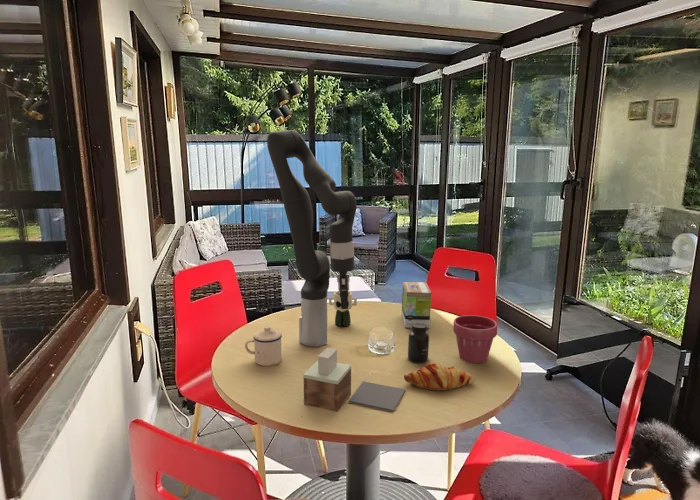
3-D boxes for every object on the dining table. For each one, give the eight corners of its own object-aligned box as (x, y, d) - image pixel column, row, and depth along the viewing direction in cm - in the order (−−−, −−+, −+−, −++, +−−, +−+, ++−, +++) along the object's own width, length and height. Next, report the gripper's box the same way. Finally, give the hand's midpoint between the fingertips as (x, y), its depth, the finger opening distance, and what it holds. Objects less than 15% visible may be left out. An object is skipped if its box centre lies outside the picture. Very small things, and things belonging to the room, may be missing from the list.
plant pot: (451, 347, 170) (453, 312, 167) (492, 350, 168) (495, 315, 165) (452, 365, 156) (454, 327, 154) (496, 369, 154) (499, 331, 151)
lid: (303, 381, 130) (303, 357, 129) (318, 365, 140) (318, 343, 138) (337, 387, 127) (337, 363, 125) (351, 371, 136) (351, 348, 135)
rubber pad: (348, 402, 133) (348, 400, 133) (362, 383, 144) (363, 381, 144) (393, 412, 129) (394, 409, 128) (405, 391, 140) (405, 389, 139)
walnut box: (303, 404, 132) (303, 377, 130) (319, 387, 141) (318, 362, 139) (337, 411, 128) (337, 384, 127) (350, 394, 138) (351, 368, 136)
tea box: (430, 328, 187) (432, 292, 184) (404, 328, 188) (405, 292, 184) (425, 315, 202) (426, 281, 199) (401, 315, 202) (402, 281, 199)
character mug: (328, 327, 188) (328, 295, 185) (329, 320, 195) (329, 290, 192) (356, 328, 187) (356, 296, 185) (356, 321, 194) (357, 290, 192)
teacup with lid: (283, 354, 163) (282, 321, 161) (280, 366, 155) (280, 332, 152) (247, 354, 163) (246, 322, 160) (243, 366, 154) (241, 332, 152)
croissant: (470, 389, 148) (468, 363, 150) (480, 390, 138) (478, 361, 140) (401, 390, 146) (401, 363, 149) (407, 390, 137) (406, 361, 139)
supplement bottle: (427, 364, 157) (429, 329, 154) (406, 362, 158) (407, 328, 155) (428, 355, 163) (430, 322, 161) (408, 353, 165) (409, 320, 162)
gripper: (330, 251, 158) (333, 298, 162) (330, 261, 145) (332, 312, 148) (353, 249, 159) (355, 297, 162) (354, 259, 145) (357, 311, 148)
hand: (344, 304), depth 155 cm, fingers open, 8 cm apart
